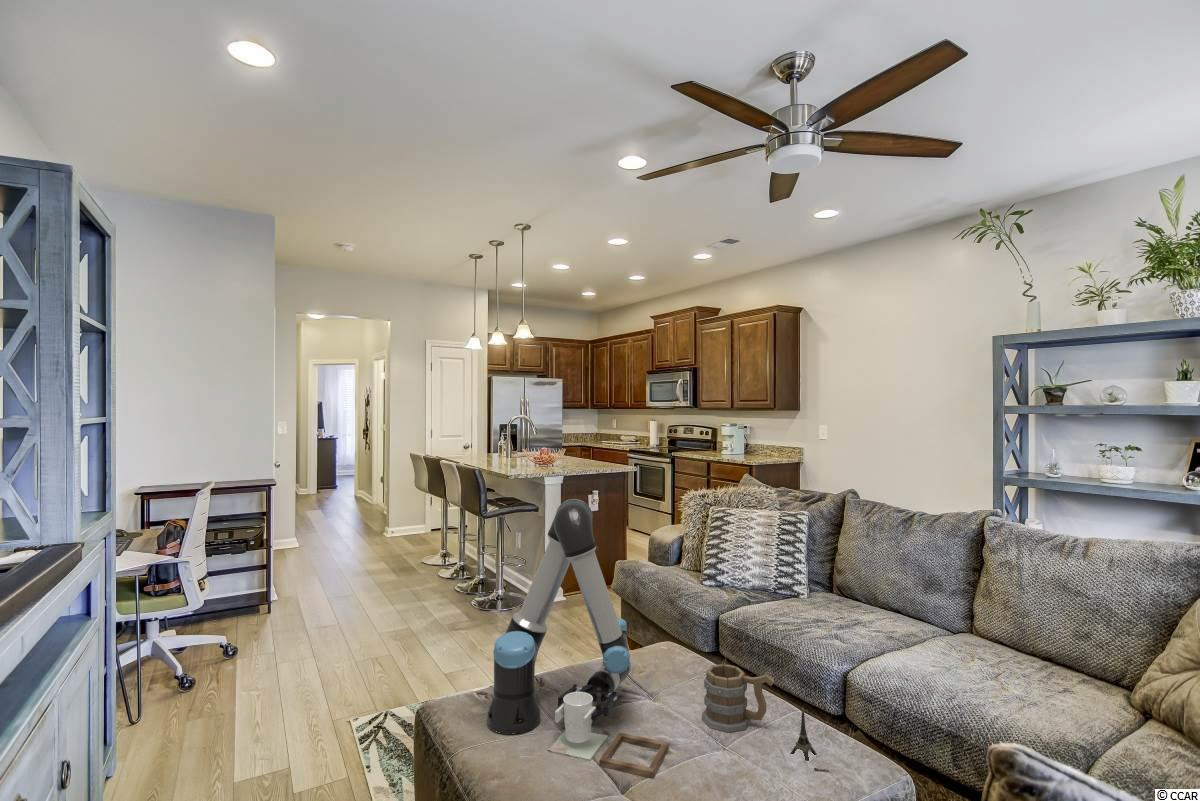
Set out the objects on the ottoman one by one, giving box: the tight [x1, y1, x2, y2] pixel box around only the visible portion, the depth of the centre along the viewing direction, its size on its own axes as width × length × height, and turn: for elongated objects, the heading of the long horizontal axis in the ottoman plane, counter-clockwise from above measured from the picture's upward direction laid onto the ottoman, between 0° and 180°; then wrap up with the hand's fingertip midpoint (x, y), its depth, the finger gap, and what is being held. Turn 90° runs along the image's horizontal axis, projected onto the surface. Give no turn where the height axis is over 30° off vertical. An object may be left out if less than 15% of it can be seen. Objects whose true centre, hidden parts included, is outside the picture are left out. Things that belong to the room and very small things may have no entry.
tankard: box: [701, 663, 775, 733], centre depth 166 cm, size 20×13×15 cm, turn 62°
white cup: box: [563, 692, 594, 743], centre depth 156 cm, size 8×8×10 cm
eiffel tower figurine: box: [790, 707, 830, 772], centre depth 151 cm, size 15×10×13 cm
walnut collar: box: [598, 731, 670, 779], centre depth 149 cm, size 14×14×2 cm
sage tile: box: [556, 730, 608, 762], centre depth 155 cm, size 12×12×1 cm
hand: (570, 720), depth 151 cm, fingers closed on white cup, 7 cm apart
